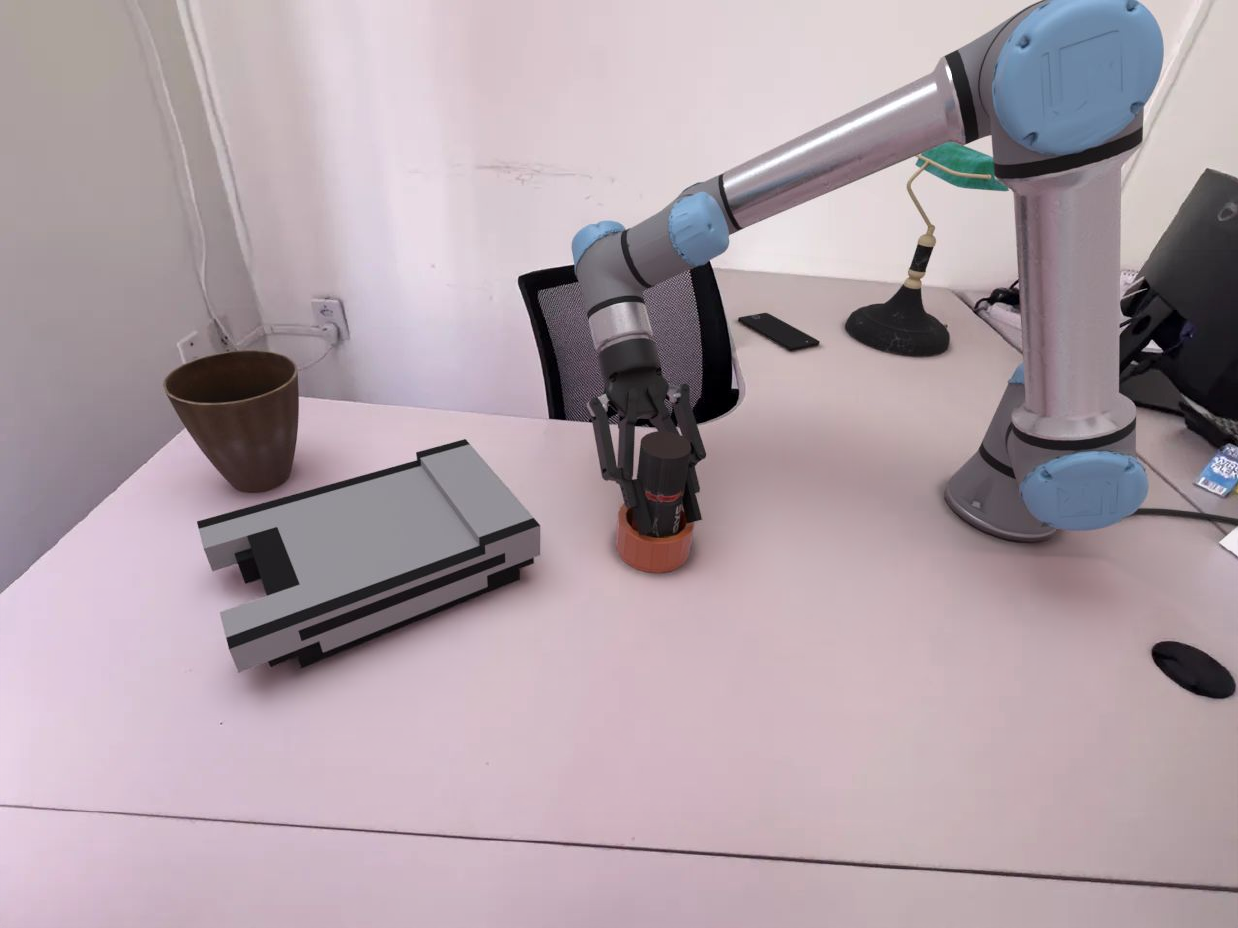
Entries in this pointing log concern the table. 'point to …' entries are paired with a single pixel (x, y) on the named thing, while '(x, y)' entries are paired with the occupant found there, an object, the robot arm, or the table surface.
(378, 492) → the game console
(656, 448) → the deodorant
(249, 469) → the flower pot
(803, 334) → the cell phone
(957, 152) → the banker's lamp
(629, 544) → the cup
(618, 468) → the robot arm
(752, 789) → the table surface
